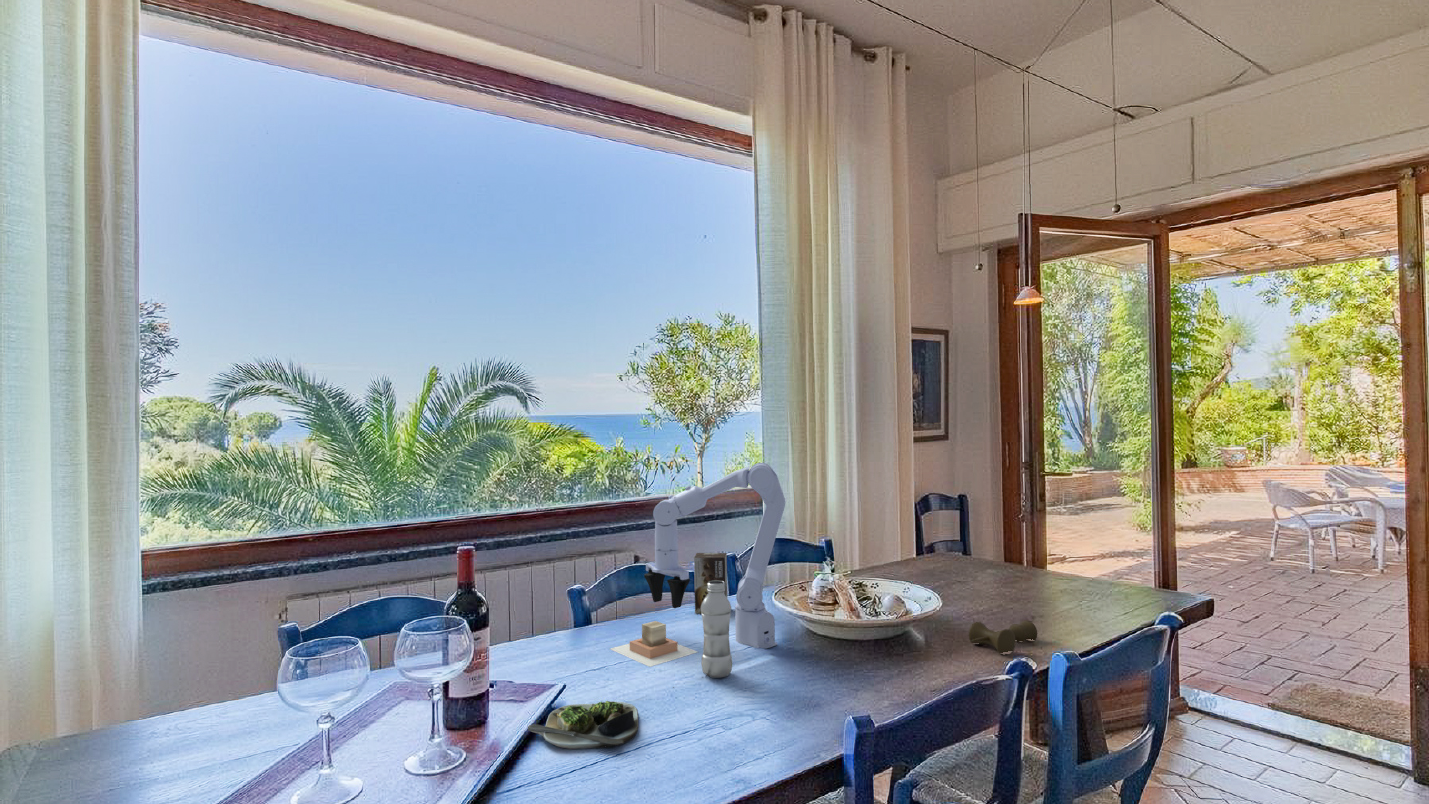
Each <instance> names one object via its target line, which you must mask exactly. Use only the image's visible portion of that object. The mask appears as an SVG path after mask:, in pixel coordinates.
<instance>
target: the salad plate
mask: <svg viewBox="0 0 1429 804" xmlns="http://www.w3.org/2000/svg"><path fill="white" fill-rule="evenodd" d="M527 728H528V729H527V730H528V732H532V733H535V734H538V735H540V736H541V737H543V739H544V740H545V741H546V742H547V743H550V744H551V745H554V746H556V747H559V748H564V749H567V750H568V749H570V750H573V749H574V750H576V749H602V748H603V749H604V748H613V747H614V748H615V747H619V746H621V745H624V744H626V743H628V742H630V741H632V740H633V739H634V738H635V736H636V735H637V732H638V730H639V711H638V708H637V707H636V706H635V705H633V704H631V703H628V702H624V701H614V700H613V701H609V700H605V701H598V702H597V703H577V704H567V705H563V706H560V707H558V708H556V709H554V710H552V711H551V712H550V713H549V714H548V717H547V719H546V722H545V725H541V724H537V723H533V724H529V725H528V726H527Z"/></svg>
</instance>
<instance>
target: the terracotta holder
mask: <svg viewBox="0 0 1429 804" xmlns="http://www.w3.org/2000/svg"><path fill="white" fill-rule="evenodd" d="M629 643H630V650H631V651H633V652H635V653H638V654H640V655H642V656H645V657H647V658H649V659H651V658H654V657H658V656H661V655H665V654H668V653H671V652H675V651H678V641H676V640H673V639H670V638H668V637H666V643H665V644H661V645H658V646H654V647H649V646H646V645H644V644H642V637H641V638H638V639H634V640H630V641H629Z"/></svg>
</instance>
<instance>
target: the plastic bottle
mask: <svg viewBox="0 0 1429 804" xmlns="http://www.w3.org/2000/svg"><path fill="white" fill-rule="evenodd" d="M707 591H708V594H707V596H706V597H705V599H704V600H703V602H702V604H701V620H702V626H703V627H702V628H703V649H702V650H703V651H702V655H701V670H702V672H703V674H705V675H706V677H709V678H712V679H713V678H715V679H720V678H721V679H722V678H725V677H728V676H730V674H731V672H733V671H732V669H733V663H734V662H733V659H732V657H733V656H732V654H731V645H730V623H731V614H732V605H731V603H730V600H729V598H728V596H727V597H726V596H725V594H724V592H725V582H723V581H709V582H708V583H707Z"/></svg>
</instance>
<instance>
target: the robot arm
mask: <svg viewBox="0 0 1429 804" xmlns="http://www.w3.org/2000/svg"><path fill="white" fill-rule="evenodd" d="M748 486H750V488H751V489H753V490H754V491H755V492H756V493H758V494H759V495H760V496H759V497H760V498H761V500H762V501H763V502H764V504H765V508H764V509H763V514H762V517H761V520H760V524H759V527H758V530H757V531H758V532H757V535H756V537H755V538H756V539H755V542H754V544H753V548H752V552H751V556H750V558H749V562H748V564H747V568H746V571H745V574H744V576H743V577H742V578H741V579H740V580H739V582H738V584H737V592H736V597H735V599H736V603H735V605H734V606H735V608H734V609H735V611H734V612H735V613H734V614H735V641H736V643H738V644H741V645H745V646H749V647H754V648H755V649H760V648H762V649H769V648H773V647H775V646H778V643H777V642H776V636H775V635H776V634H775V633H776V627H775V626H776V623H775V617H774V615H773V613H771V612H769V611H768V610H767V609H766V607H765V606H766V604H765V603H764V602H763V599H764V598H763V597H764V596H763V591H764V587H763V584H764V581H765V575H766V571H767V568H768V567H769V566H768V565H769V561H770V558H771V555H772V552H773V548H774V544H775V541H776V538H777V535H778V531H779V527H780V525H781V521H782V518H783V513H784V510H785V507H786V498H785V496H784V492H783V489H782V486H781V482H780V481H779V477H778V474H777V473H776V472H775V470H774V469H773V468H772V466H771V465H770V464H768V463H765V462H757V463H755V464H753V465H752V466H750V465H748V466H746V467H745V466H744V467H743V468H740V469H737V470H735V471H733V472H730V473H729V474H727V475H724V476H723V477H721V478H719V479H718V480H715V481H713V482H711V483H710V484H707V485H705V486H703V487H700V486H697V485H694V486H691V485H688V486H686V487H684V489H685V490H683V491H680V492H679V493H677V494H675V495H672V494H671V495H668V498H667V499H664V500H661V501H660V502H659V503H658V504H657V505H655V507H654V508H653V512H652V515H653V520H654V521H655V522H654V523H655V524H654V527H655V529H654V562H653V561H651V562H646V563H645V571H646V572H648V573H644V574H643V575H644V579H645V580H646V582H647V585H648V587H649V590H650V594H651V597H652V601H653V602H654V603H657V602H661V601H662V600H663V589H664V588H663V586H664V582H665V577H666V576H669V577H672V578H669V579H667V580H666V582H667V584H668V586H669V587H668V588H669V590H670V596H671V605H672V609H678V608H681V606H682V604H683V598H684V596H685V595H684V594H685V592H686V589H687V587H688V585H689V583H690V582H691V578H690V573H689V570H687V569H684V568H682V567H681V566H680V565H679V530H678V518H684V517H686V516H688V515H690V514H692V513H695V512H696V511H698V510H701V509H703V508H705V507H706V504H707V501H708V500H710V499H712V498H715V497H717V496H718V495H721V494H724V493H726V492H728V491H730V490H733V489H734V488H742V489H748Z"/></svg>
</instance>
